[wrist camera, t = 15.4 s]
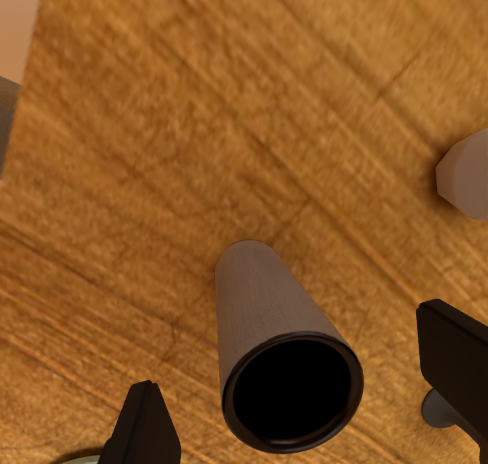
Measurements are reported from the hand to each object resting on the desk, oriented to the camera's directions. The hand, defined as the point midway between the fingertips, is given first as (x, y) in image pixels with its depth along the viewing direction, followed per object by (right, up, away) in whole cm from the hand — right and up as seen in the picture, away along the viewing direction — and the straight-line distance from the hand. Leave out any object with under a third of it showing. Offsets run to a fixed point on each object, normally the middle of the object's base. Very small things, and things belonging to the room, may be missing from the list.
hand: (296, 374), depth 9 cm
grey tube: (-2, +2, +9) cm, 9 cm away
